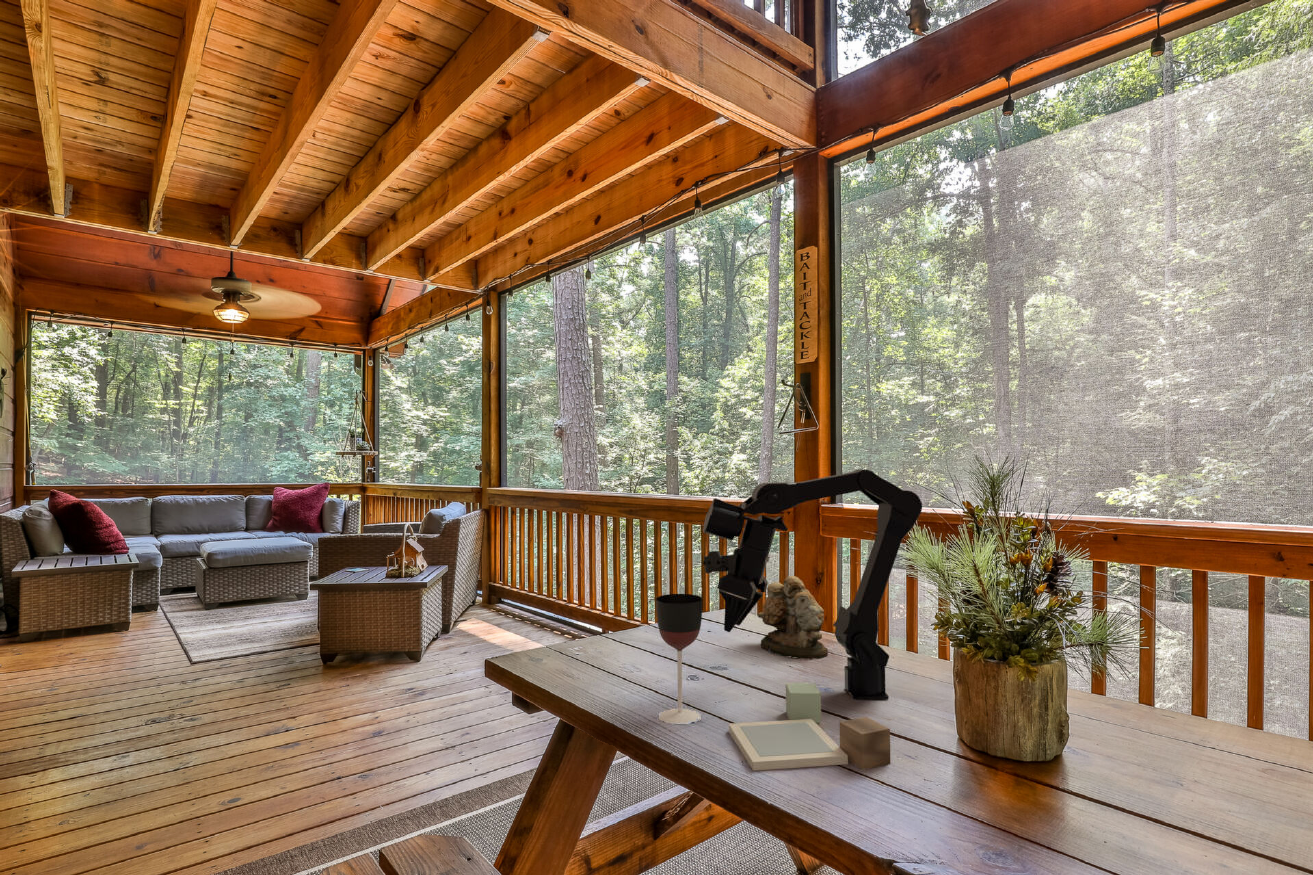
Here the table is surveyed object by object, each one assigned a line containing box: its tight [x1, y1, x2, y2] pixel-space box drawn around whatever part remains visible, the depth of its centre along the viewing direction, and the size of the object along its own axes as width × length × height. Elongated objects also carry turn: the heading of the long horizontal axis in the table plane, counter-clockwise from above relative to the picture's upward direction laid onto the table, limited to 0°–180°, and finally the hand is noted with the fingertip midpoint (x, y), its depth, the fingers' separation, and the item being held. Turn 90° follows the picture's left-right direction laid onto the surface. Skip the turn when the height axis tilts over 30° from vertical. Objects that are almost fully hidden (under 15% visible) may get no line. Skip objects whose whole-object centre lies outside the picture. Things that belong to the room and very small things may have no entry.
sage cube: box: [785, 682, 822, 724], centre depth 113 cm, size 5×5×5 cm
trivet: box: [728, 719, 849, 772], centre depth 101 cm, size 14×14×1 cm
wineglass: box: [655, 593, 703, 724], centre depth 114 cm, size 8×9×20 cm
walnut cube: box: [838, 716, 892, 771], centre depth 97 cm, size 5×5×5 cm
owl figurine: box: [757, 575, 829, 659], centre depth 155 cm, size 18×12×17 cm, turn 45°
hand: (731, 628), depth 124 cm, fingers open, 9 cm apart
